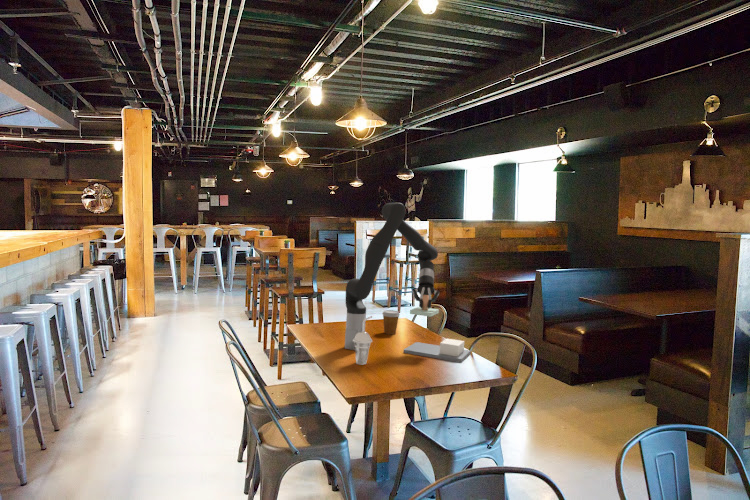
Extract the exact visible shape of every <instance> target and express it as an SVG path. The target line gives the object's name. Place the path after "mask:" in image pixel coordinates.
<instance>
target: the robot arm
mask: <svg viewBox="0 0 750 500" xmlns="http://www.w3.org/2000/svg"><path fill="white" fill-rule="evenodd" d="M406 212H407V211H406V206H405V205H404V204H403V203H401V202H388V203H385V204H384V205H383V206H382V208H381V214H382V215H381V216H382V217H383V218H384V220H385V223H384V224H383V226H382V228H381V229H380V230H378V232H377V233H376V234H375V235H374V236H373V237H372V239H371V240H370V242H369V244H368V247H367V248H366V251H365V257H364V268H363V270H362V274H361V275H360V278H352V279H350V280H349V281H348V282H347V284H346V285H345V286H346V287H345V307H346V318H345V319H346V321H345V322H346V323H345V335H344V349H346V350H352V351H355V345H354V342H353V338H355V336H356V334H357V333H358V332H361V331H362V327H363V320H364V319H366V318H367V307H366V305H365V304H364V303H363V302H364V301H363V300H365V299H367V298H368V297H369V295H370V293H371V291H372V289H373V285H374V282H375V279H376V277H377V274H378V272H379V270H380V267H381V264H382V263H383V261H384V259H385V257H386V254H387V252H388V249H389V247H390V245H391V244H392V243H391V242H392V241H393V239H394V236H395V234H396V233H397V231H398V232H399V233H400V234H401V235H402V236H403V237H404V238H405V240H406V241H407V242H408V243H409V244H410V246H411V247H412V248H413V249H414V251H418V253H417V254H416V255H417V259H418V263H419V274H418V287H417V288H412V296H414V299H415V301H418V302H419V304H418V307H421V308H422V301H423V300H422V299H423V295H429V301H428V309H429V308H432V303H435V302H436V300H437V298H438V297H439V296H440V290H438V289H435V286H434V285H435V284H434V283H435V265H434V263H433V260H436V259H437V258H438V256H439V252H438V250H437V247H435V246H434V245H432V244H431V243H429V242H428V241H427V240H425V239H424V237H423V236H422V235H421V233H419V232H418V230H417V229H415V228H414V227H412V226H411V225H410V224H409V223H408V222H406V221H405V220H404V218H405V216H406ZM418 294H419V295H420V296H419V295H418ZM433 294H434V296H433ZM432 296H433V297H432ZM366 321H367V320H365V322H364V332H366Z"/></svg>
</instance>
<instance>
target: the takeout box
mask: <svg viewBox="0 0 750 500" xmlns="http://www.w3.org/2000/svg"><path fill="white" fill-rule="evenodd" d="M439 346H440V354H446V355H452V356H459V355H460V354H461V353H462V352H464V350H465V340H460V339H454V338H445V339H444V340H442V341H441V342H440V343H439Z"/></svg>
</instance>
